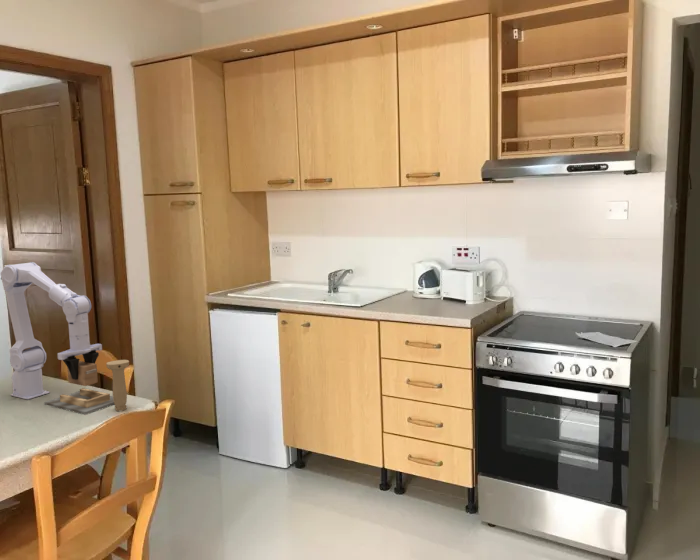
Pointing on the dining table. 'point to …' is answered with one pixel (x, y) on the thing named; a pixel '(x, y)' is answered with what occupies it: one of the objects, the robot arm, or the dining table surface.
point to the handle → (119, 383)
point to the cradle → (82, 401)
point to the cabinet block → (85, 374)
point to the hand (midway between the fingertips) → (82, 376)
